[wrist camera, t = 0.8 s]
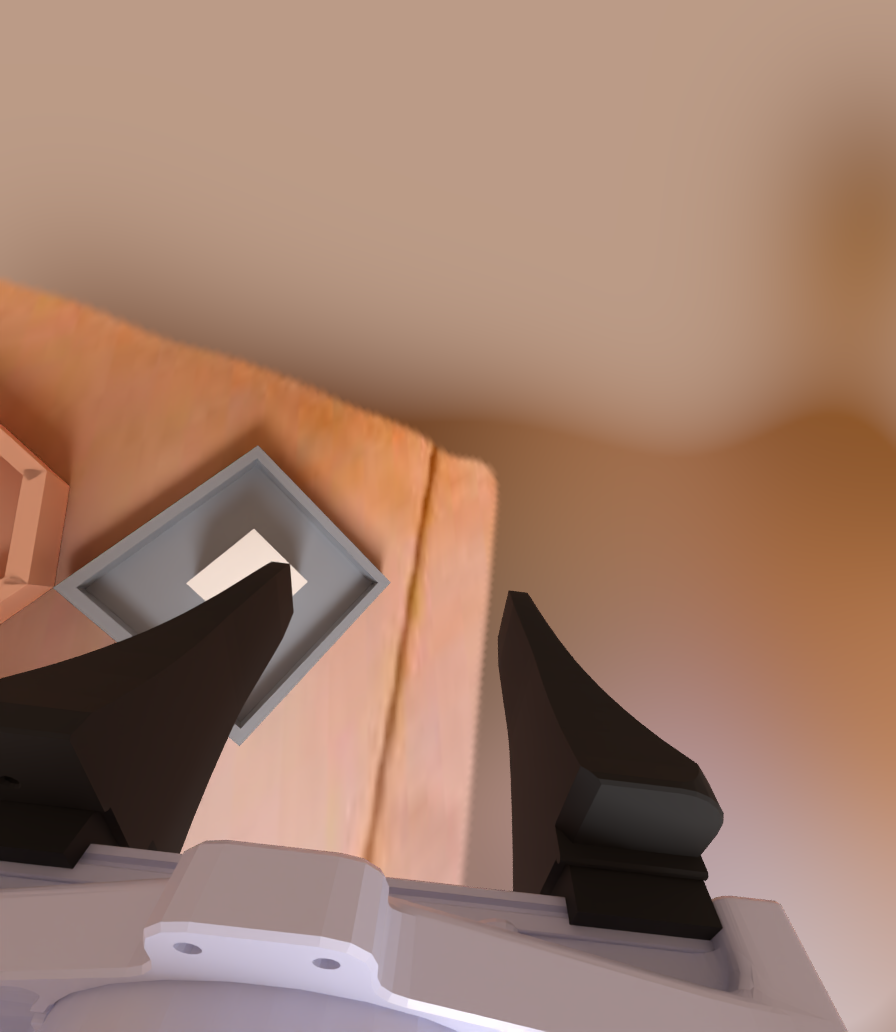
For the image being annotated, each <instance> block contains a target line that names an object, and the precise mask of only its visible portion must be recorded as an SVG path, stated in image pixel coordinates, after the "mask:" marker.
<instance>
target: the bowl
mask: <svg viewBox="0 0 896 1032" xmlns="http://www.w3.org/2000/svg"><path fill="white" fill-rule="evenodd" d="M69 488H70V486H69V485H67V484H66V483H65V482H64V481H63V480H62V479H61V478H60V477H59V476H58V475H56V474H55V473H54V472H53V471H52V470H51V469H50V468H49V467H48V466H47V465H45V464H44V463H43V462H42V461H41V460H40V459H39V458H38V457H37V456H36V455H34V454H33V453H32V452H31V451H30V450H29V449H28V448H27V447H26V446H25V445H23V444H22V443H21V442H20V441H19V440H18V439H17V438H16V437H15V436H14V435H12V434H11V433H10V432H9V431H8V430H7V429H6V428H5V427H4V426H3V425H1V424H0V624H1V623H3V622H4V621H6V620H7V619H9V618H10V617H11V616H13V615H14V614H16V613H17V612H19V611H20V610H22V609H23V608H24V607H26V606H27V605H29V604H30V603H32V602H33V601H35V600H36V599H37V598H39V597H40V596H42V595H43V594H45V593H46V592H47V591H49V590H50V589H52V588H53V587H54V584H55V578H56V571H57V565H58V558H59V552H60V546H61V539H62V533H63V526H64V520H65V514H66V507H67V501H68V494H69Z"/></svg>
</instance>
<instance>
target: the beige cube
mask: <svg viewBox="0 0 896 1032" xmlns="http://www.w3.org/2000/svg"><path fill="white" fill-rule="evenodd" d="M271 561H272V562H280V563H288V562H287V561H286V560H285V559H284V558H283V557H282V556H281V555H280V554H279V553H278V552H277V551H276V550H275V549H274V548H273V547H272V546H271V545H270V544H269V543H268V542H267V541H266V540H265V539H264V538H263V537H262V536H261V535H260V534H259V533H258V532H257V531H256V530H255V529H253V530H252V531H250V532H249V533H248V534H247V535H245V536H244V537H243V538H242V539H240V540H239V541H238V542H237V543H236V544H234V545H233V546H232V547H231V548H229V549H228V550H227V551H226V552H224V553H223V554H222V555H221V556H219V557H218V558H217V559H216V560H214V561H213V562H212V563H211V564H209V565H208V566H207V567H206V568H205V569H203V570H202V571H201V572H200V573H198V574H197V575H196V576H195V577H193V578H192V579H191V580H190V581H188V582H187V583H186V584H187V585H189V586H190V587H191V588H192V589H193V590H194V591H195V592H196V593H197V594H198V595H199V596H201V597H202V598H203V599H204V600H205V601H207V600H208V599H210V598H212V597H214V596H216V595H217V594H219V593H221V592H222V591H224V590H226V589H227V588H229V587H230V586H232V585H234V584H235V583H237V582H239V581H240V580H242V579H243V578H245V577H247V576H248V575H250V574H251V573H253V572H255V571H256V570H258V569H259V568H261V567H263V566H264V565H266V564H268V563H270V562H271ZM288 564H289V563H288ZM290 569H291V582H292V596H293V595H294V594H295V593H296V592H297V591H298V590H300V589H301V588H302V587H303V586H304V585H305V584H306V583H307V582H308V581H307V580H306V579H305V578H304V577H303V576H302V575H301V574H299V573H298V572H297V571H296V570H295V569H294V568H293V567H292V566H291V565H290Z"/></svg>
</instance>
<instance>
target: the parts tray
mask: <svg viewBox="0 0 896 1032" xmlns="http://www.w3.org/2000/svg"><path fill="white" fill-rule="evenodd" d="M253 529H255V530H256V531H257V532H258V533H259V534H260V535H261V536H262V537H263V538H264V539H265V540H266V541H267V542H268V543H269V544H270V545H271V546H272V547H273V548H274V549H275V550H276V551H277V552H278V553H279V554H280V555H281V556H282V557H283V558H284V559H285V560H286V561H287V562H288V563H289V564H290V565H291V566H292V567H293V568H294V569H295V570H296V571H297V572H298V573H299V574H301V575H302V576H303V577H304V578H305V579H306V580H307V581H308V582H307V583H306V584H305V585H304V586H303V587H302V588H301V589H300V590H298V591H297V592H296V593H295V594H294V595H293V609H294V613H293V616H292V618H291V620H290V623H289V625H288V628H287V630H286V632H285V635H284V637H283V639H282V641H281V643H280V645H279V646H278V648H277V650H276V652H275V653H274V655H273V657H272V658H271V660H270V662H269V663H268V665H267V667H266V668H265V670H264V672H263V674H262V675H261V677H260V679H259V680H258V682H257V684H256V685H255V687H254V689H253V690H252V692H251V694H250V695H249V697H248V699H247V700H246V702H245V704H244V706H243V708H242V710H241V711H240V713H239V715H238V717H237V720H236V722H235V724H234V726H233V728H232V730H231V732H230V735H229V738H231V739H232V740H233V741H234V742H235V743H237V744H238V745H239V746H240V745H241V744H242V743H243V742H244V741H245V740H246V739H247V737H248V736H249V735H250V734H251V733H252V732H253V731H254V730H255V729H256V728H257V727H258V726H259V724H260V723H261V722H262V721H263V720H264V719H265V718H266V717H267V716H268V715H269V714H270V713H271V711H272V710H273V709H274V708H275V707H276V706H277V705H278V704H279V703H280V702H281V701H282V700H283V698H284V697H285V696H286V695H287V694H288V693H289V692H290V691H291V690H292V689H293V688H294V687H295V685H296V684H297V683H298V682H299V681H300V680H301V679H302V678H303V677H304V676H305V675H306V674H307V672H308V671H309V670H310V669H311V668H312V667H313V666H314V665H315V664H316V663H317V662H318V661H319V659H320V658H321V657H322V656H323V655H324V654H325V653H326V652H327V651H328V650H329V649H330V648H331V646H332V645H333V644H334V643H335V642H336V641H337V640H338V639H339V638H340V637H341V636H342V635H343V633H344V632H345V631H346V630H347V629H348V628H349V627H350V626H351V625H352V624H353V623H354V621H355V620H356V619H357V618H358V617H359V616H360V615H361V614H362V613H363V612H364V611H365V610H366V608H367V607H368V606H369V605H370V604H371V603H372V602H373V601H374V600H375V599H376V598H377V597H378V595H379V594H380V593H381V592H382V591H383V590H384V589H385V588H386V587H387V586H388V585H389V584H390V581H389V580H388V579H387V578H386V577H385V576H384V575H383V574H382V573H381V572H380V571H379V570H378V569H377V568H376V567H375V566H374V565H373V564H372V563H371V562H370V561H369V560H368V559H367V558H366V557H365V556H364V555H363V553H362V552H361V551H360V550H359V549H358V548H357V547H356V546H355V545H354V544H353V543H352V542H351V541H350V540H349V539H348V538H347V537H346V536H345V535H344V534H343V533H342V532H341V531H340V530H339V529H338V528H337V527H336V526H335V524H334V523H333V522H332V521H331V520H330V519H329V518H328V517H327V516H326V515H325V514H324V513H323V512H322V511H321V510H320V509H319V508H318V507H317V506H316V505H315V504H314V503H313V502H312V501H311V500H310V499H309V498H308V497H307V495H306V494H305V493H304V492H303V491H302V490H301V489H300V488H299V487H298V486H297V485H296V484H295V483H294V482H293V481H292V480H291V479H290V478H289V477H288V476H287V475H286V474H285V473H284V472H283V471H282V470H281V469H280V468H279V467H278V465H277V464H276V463H275V462H274V461H273V460H272V459H271V458H270V457H269V456H268V455H267V454H266V453H265V452H264V451H263V450H262V449H261V448H260V447H259V446H256V447H255V448H253V449H252V450H251V451H249V452H248V453H246V454H245V455H243V456H242V457H240V458H239V459H238V460H236V461H235V462H233V463H232V464H230V465H229V466H227V467H226V468H225V469H223V470H222V471H220V472H219V473H217V474H216V475H215V476H213V477H212V478H210V479H209V480H207V481H206V482H204V483H203V484H202V485H200V486H199V487H197V488H196V489H194V490H193V491H192V492H190V493H189V494H187V495H186V496H184V497H183V498H181V499H180V500H179V501H177V502H176V503H174V504H173V505H171V506H170V507H168V508H167V509H166V510H164V511H163V512H161V513H160V514H158V515H157V516H156V517H154V518H153V519H151V520H150V521H148V522H147V523H145V524H144V525H143V526H141V527H140V528H138V529H137V530H135V531H134V532H133V533H131V534H130V535H128V536H127V537H125V538H124V539H122V540H121V541H120V542H118V543H117V544H115V545H114V546H112V547H111V548H109V549H108V550H107V551H105V552H104V553H102V554H101V555H99V556H98V557H97V558H95V559H94V560H92V561H91V562H89V563H88V564H86V565H85V566H84V567H82V568H81V569H79V570H78V571H76V572H75V573H74V574H72V575H71V576H69V577H68V578H66V579H65V580H63V581H62V582H61V583H59V584H58V585H56V586H55V587H53V588H54V589H55V590H56V591H57V592H58V593H60V594H61V595H62V596H63V597H64V598H65V599H67V600H68V601H69V602H70V603H71V604H72V605H74V606H75V607H76V608H77V609H78V610H80V611H81V612H82V613H83V614H84V615H85V616H87V617H88V618H89V619H90V620H91V621H93V622H94V623H95V624H96V625H97V626H98V627H100V628H101V629H102V630H103V631H104V632H106V633H107V634H108V635H109V636H110V637H111V638H113V639H114V640H115V641H116V642H120V641H122V640H125V639H127V638H130V637H132V636H135V635H137V634H140V633H142V632H145V631H147V630H149V629H151V628H154V627H156V626H158V625H160V624H162V623H164V622H167V621H169V620H171V619H173V618H175V617H177V616H179V615H181V614H183V613H185V612H187V611H189V610H190V609H192V608H194V607H196V606H198V605H199V604H201V603H203V602H205V600H204V599H203V598H202V597H201V596H199V595H198V594H197V593H196V592H195V591H194V590H193V589H192V588H191V587H190V586H189V585H187V584H186V583H187V582H188V581H190V580H191V579H192V578H193V577H195V576H196V575H197V574H198V573H200V572H201V571H202V570H203V569H205V568H206V567H207V566H208V565H209V564H211V563H212V562H213V561H214V560H216V559H217V558H218V557H219V556H221V555H222V554H223V553H224V552H226V551H227V550H228V549H229V548H231V547H232V546H233V545H234V544H236V543H237V542H238V541H239V540H240V539H242V538H243V537H244V536H245V535H247V534H248V533H249V532H250V531H252V530H253Z"/></svg>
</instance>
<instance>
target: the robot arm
mask: <svg viewBox="0 0 896 1032" xmlns="http://www.w3.org/2000/svg"><path fill="white" fill-rule="evenodd" d="M293 613H294V609H293V596H292V582H291V569H290V564H288V563H280V562H272V561H271V562H270V563H268V564H266V565H264V566H263V567H261V568H259V569H258V570H256V571H255V572H253V573H251V574H250V575H248V576H247V577H245V578H243V579H242V580H240V581H239V582H237V583H235V584H234V585H232V586H230V587H229V588H227V589H226V590H224V591H222V592H221V593H219V594H217V595H216V596H214V597H212V598H210V599H208V600H207V601H205V602H203V603H201V604H199V605H198V606H196V607H194V608H192V609H190V610H189V611H187V612H185V613H183V614H181V615H179V616H177V617H175V618H173V619H171V620H169V621H167V622H164V623H162V624H160V625H158V626H156V627H154V628H151V629H149V630H147V631H145V632H142V633H140V634H137V635H135V636H132V637H130V638H127V639H125V640H122V641H120V642H117V643H114V644H112V645H109V646H107V647H104V648H101V649H98V650H96V651H93V652H90V653H87V654H84V655H81V656H78V657H75V658H72V659H69V660H65V661H62V662H59V663H56V664H52V665H49V666H46V667H42V668H38V669H35V670H31V671H27V672H24V673H20V674H16V675H13V676H9V677H5V678H1V679H0V1032H848V1031H847V1029H846V1027H845V1025H844V1023H843V1021H842V1020H841V1018H840V1016H839V1014H838V1012H837V1010H836V1008H835V1006H834V1004H833V1002H832V1000H831V998H830V997H829V995H828V993H827V991H826V989H825V987H824V985H823V983H822V981H821V980H820V978H819V976H818V974H817V972H816V970H815V968H814V966H813V964H812V962H811V961H810V959H809V957H808V955H807V953H806V951H805V949H804V947H803V945H802V943H801V942H800V940H799V938H798V936H797V934H796V932H795V930H794V928H793V927H792V924H791V923H790V921H789V919H788V917H787V915H786V913H785V911H784V909H783V907H782V906H781V904H779V903H777V902H776V901H771V900H762V899H753V898H745V897H736V896H721V897H716V898H714V899H712V900H711V898H710V896H709V893H708V891H707V888H706V886H705V883H704V881H703V880H705V881H706V880H707V879H708V871H707V869H706V867H705V864H704V862H703V860H702V857H701V854H702V853H703V852H704V850H705V849H706V848H707V847H708V845H709V844H710V843H711V842H712V840H713V839H714V838H715V836H716V835H717V834H718V832H719V830H720V828H721V826H722V824H723V814H724V813H723V811H722V809H721V807H720V805H719V803H718V801H717V799H716V797H715V795H714V793H713V791H712V789H711V787H710V785H709V783H708V781H707V779H706V778H705V776H704V774H703V772H702V771H701V769H700V767H699V766H698V764H697V763H695V762H694V761H692V760H691V759H689V758H688V757H686V756H685V755H684V754H682V753H681V752H679V751H678V750H676V749H675V748H673V747H672V746H670V745H669V744H668V743H666V742H665V741H663V740H662V739H661V738H659V737H658V736H657V735H655V734H654V733H653V732H651V731H650V730H649V729H648V728H646V727H645V726H644V725H642V724H641V723H640V722H639V721H637V720H636V719H635V718H634V717H633V716H631V715H630V714H629V713H628V712H627V711H625V710H624V709H623V708H622V707H621V706H620V705H619V704H618V703H617V702H615V701H614V700H613V699H612V698H611V697H610V696H609V695H608V694H607V693H606V692H604V690H602V689H601V688H600V687H599V686H598V685H597V683H596V682H595V681H594V680H593V679H592V678H591V677H590V676H589V675H588V674H587V673H586V672H585V671H584V670H583V669H582V668H581V666H580V665H579V664H578V663H577V662H576V661H575V660H574V658H573V657H572V656H571V655H570V653H569V652H568V651H567V650H566V648H565V647H564V646H563V644H562V643H561V642H560V641H559V639H558V638H557V636H556V635H555V634H554V632H553V631H552V629H551V628H550V626H549V625H548V624H547V622H546V621H545V619H544V618H543V616H542V615H541V613H540V612H539V610H538V608H537V607H536V605H535V604H534V602H533V601H532V599H531V597H530V596H529V595H528V593H525V592H516V591H509V592H508V596H507V600H506V605H505V609H504V613H503V618H502V622H501V626H500V631H499V635H498V663H499V673H500V680H501V687H502V694H503V702H504V708H505V715H506V722H507V729H508V738H509V750H510V771H511V796H512V797H511V799H512V835H513V836H512V837H513V891H505V890H496V889H487V888H478V887H469V886H461V885H452V884H443V883H434V882H425V881H416V880H408V879H399V878H390V877H385V876H384V874H383V872H382V871H381V869H380V868H378V867H377V866H375V865H373V864H372V863H370V862H369V861H367V860H365V859H363V858H359V857H355V856H351V855H347V854H343V853H337V852H328V851H319V850H310V849H302V848H293V847H284V846H275V845H267V844H258V843H249V842H240V841H231V840H215V841H205V842H202V843H200V844H198V845H196V846H194V847H192V848H190V849H188V850H186V851H184V853H183V854H180V852H181V849H182V847H183V844H184V841H185V839H186V836H187V834H188V831H189V828H190V826H191V823H192V821H193V818H194V816H195V813H196V811H197V808H198V806H199V804H200V801H201V799H202V796H203V794H204V791H205V789H206V787H207V784H208V782H209V779H210V777H211V775H212V772H213V770H214V768H215V766H216V763H217V761H218V759H219V757H220V754H221V752H222V750H223V748H224V745H225V743H226V741H227V739H228V737H229V735H230V732H231V730H232V728H233V726H234V724H235V722H236V720H237V717H238V715H239V713H240V711H241V710H242V708H243V706H244V704H245V702H246V700H247V699H248V697H249V695H250V694H251V692H252V690H253V689H254V687H255V685H256V684H257V682H258V680H259V679H260V677H261V675H262V674H263V672H264V670H265V668H266V667H267V665H268V663H269V662H270V660H271V658H272V657H273V655H274V653H275V652H276V650H277V648H278V646H279V645H280V643H281V641H282V639H283V637H284V635H285V632H286V630H287V628H288V625H289V623H290V620H291V618H292V616H293Z"/></svg>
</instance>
